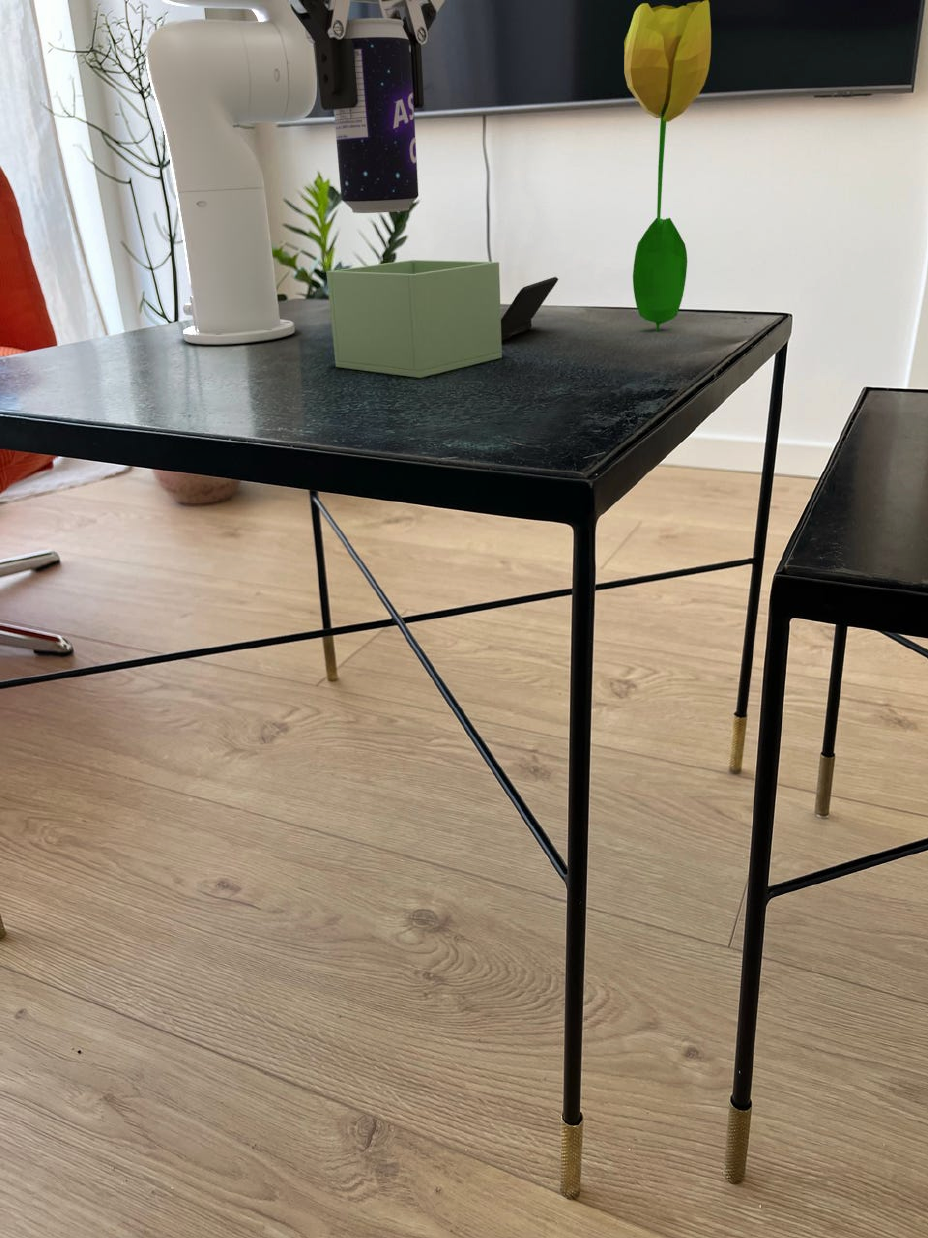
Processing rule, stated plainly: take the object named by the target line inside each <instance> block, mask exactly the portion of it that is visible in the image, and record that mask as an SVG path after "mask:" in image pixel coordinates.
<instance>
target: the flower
mask: <svg viewBox="0 0 928 1238" xmlns="http://www.w3.org/2000/svg"><path fill="white" fill-rule="evenodd" d="M710 7H711V6H710V2H709V0H703V1H700V0H699V1H694V2H689V3H687V4H686V5H680V6H679V7H675V6H672V5H665V4H661V5H658V6H655V7H651V5H650V4H649V3H648V2H647V3H640V5H638V7H637V8H636V9H635V11H634V13H633V17H632V20H631V23H630V27H629V29H628V31H627V33H626V36H625V38H624V41H623V44H624V45H623V47H624V57H623V59H624V61H623V62H624V65H623V66H624V67H623V68H624V71H623V73H624V77H625V81H626V86H627V88H628V90H629V91H630V93H632V95H633V96H634V98H635V99H636V100H637V102H638V103H639V105H640V106H641V108H642V109H643V110H644V112H645V113H647V114H648V115H650V116H652V117H653V118H655V119H660V127H659V146H658V147H659V149H658V167H657V168H658V170H657V203H656V205H657V207H656V208H657V209H656V210H657V211H656V218H655V219H654V220H653V221H652V223H651V224H650V225H649V227H648V228H647V229H646V231H645V232H644V233H643V235H642V236H641V238H640V240H639V241H638V242H637V246H636V249H635V255H634V262H633V270H632V284H633V285H632V287H633V296H634V300H635V304H636V308H637V311H638V314H639V316H640V317H641V318H642V319H644V320H645V321H647V322H651V323H654V324H655V331H660V325H662V324H665V323H667V322H669V321H671V320H673V319H675V318H676V317H677V316H678V313H679V310H680V307H681V304H682V302H683V301H682V300H683V297H684V292H685V286H686V280H687V271H688V253H687V246H686V243H685V242H684V240H683V238H682V236H681V233H680V232H679V231H678V229H677V227H676V226H675V224H674V222H673V221H672V219H671V217H668V218H665V219H664V218H661V217H662V216H661V214H662V195H663V177H664V176H663V174H664V162H665V161H664V158H665V146H666V145H665V144H666V133H667V123H669V122H671V121H673V120H675V119H676V118H678V117H680V116H681V115H682V114H683V113H684V112H685V111H687V109H689V106H690V105H692V103H693V102H695V100H696V98H697V97H698V96H699V94H700V92H701V90H703V87H704V86H705V83H706V81H707V77H708V73H709V70H710V63H711V55H712V54H711V53H712V51H711V50H712V27H711V9H710Z"/></svg>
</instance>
